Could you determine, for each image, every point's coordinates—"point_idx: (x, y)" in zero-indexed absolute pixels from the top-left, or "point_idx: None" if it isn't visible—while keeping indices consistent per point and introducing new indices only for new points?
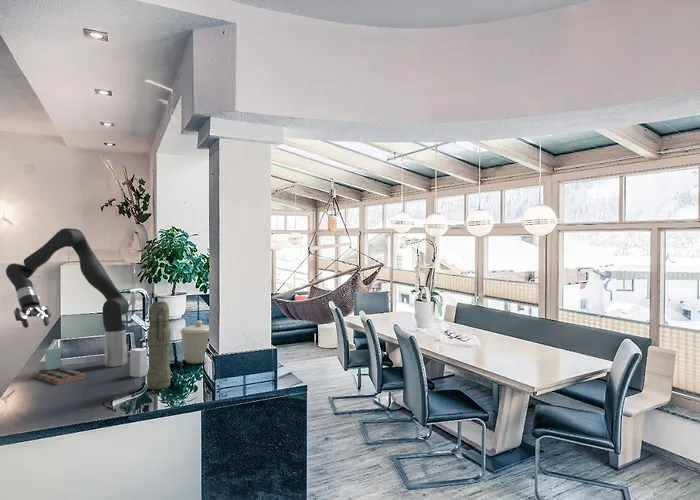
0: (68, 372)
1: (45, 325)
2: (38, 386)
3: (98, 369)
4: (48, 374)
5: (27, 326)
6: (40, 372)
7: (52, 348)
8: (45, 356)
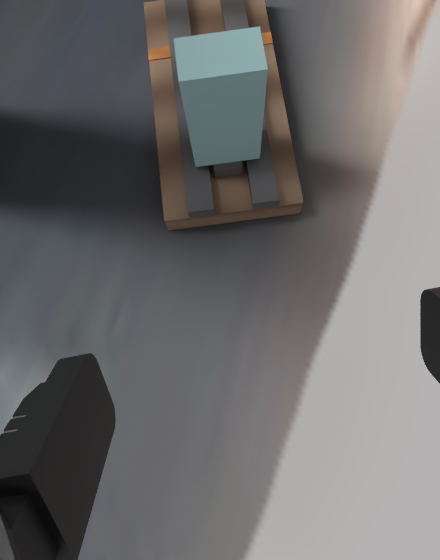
0: None
1: (109, 406)
2: (322, 39)
3: (36, 126)
4: None
5: (430, 307)
6: (276, 182)
7: (221, 58)
8: (263, 104)
